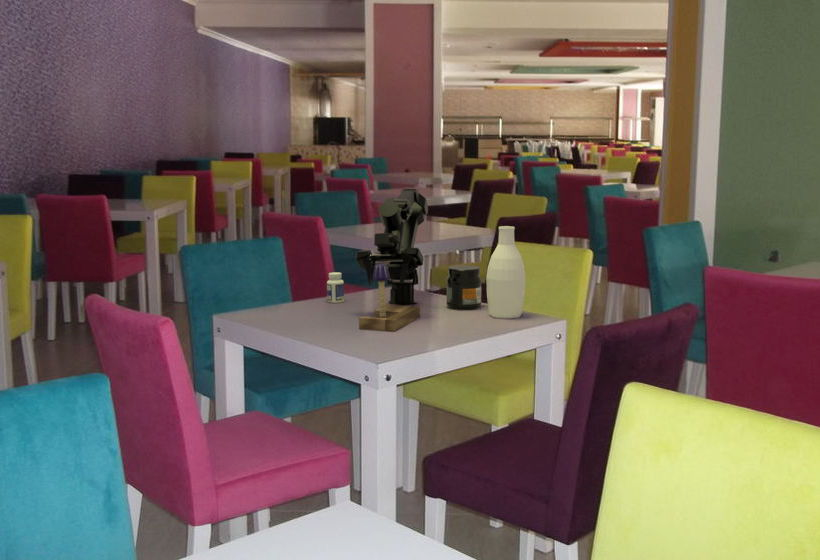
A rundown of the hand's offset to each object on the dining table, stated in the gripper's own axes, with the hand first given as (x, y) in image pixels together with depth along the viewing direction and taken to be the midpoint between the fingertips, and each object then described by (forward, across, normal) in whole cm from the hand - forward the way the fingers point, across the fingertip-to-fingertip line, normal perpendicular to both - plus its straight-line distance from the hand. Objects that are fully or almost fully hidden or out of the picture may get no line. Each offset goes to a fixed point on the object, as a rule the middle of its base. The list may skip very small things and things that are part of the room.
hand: (385, 283), depth 259 cm
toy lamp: (+13, +1, +1) cm, 13 cm away
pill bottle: (-7, -24, +21) cm, 33 cm away
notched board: (+11, +2, +3) cm, 11 cm away
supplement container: (-6, +16, +25) cm, 31 cm away
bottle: (+1, +30, +19) cm, 36 cm away
